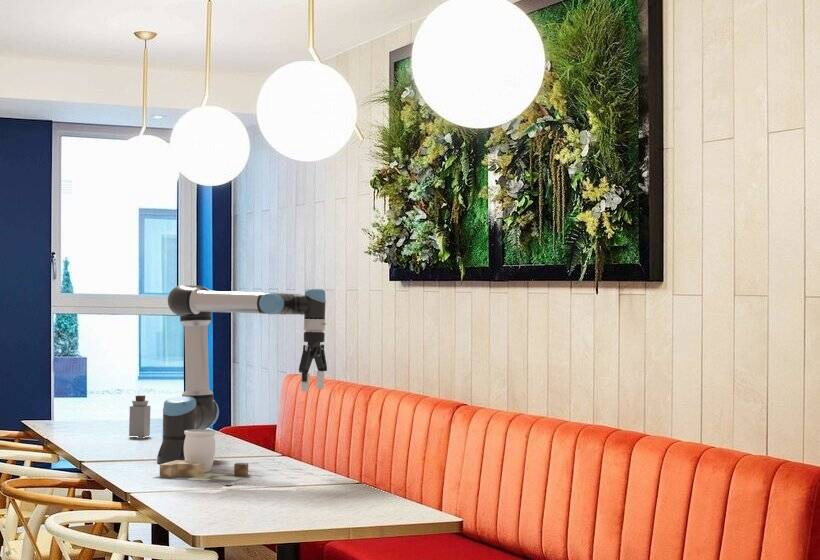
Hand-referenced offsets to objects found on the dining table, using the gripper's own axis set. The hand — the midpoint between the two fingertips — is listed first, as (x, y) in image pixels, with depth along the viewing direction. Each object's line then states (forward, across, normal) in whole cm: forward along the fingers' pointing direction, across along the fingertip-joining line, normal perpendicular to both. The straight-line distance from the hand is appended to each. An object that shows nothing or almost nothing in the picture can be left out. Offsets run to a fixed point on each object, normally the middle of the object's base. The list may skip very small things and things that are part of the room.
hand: (312, 390), depth 404 cm
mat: (+27, -48, +17) cm, 58 cm away
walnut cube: (+26, -41, +7) cm, 49 cm away
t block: (+26, -48, +24) cm, 60 cm away
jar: (+28, -36, +26) cm, 52 cm away
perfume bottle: (+28, +51, +103) cm, 118 cm away
